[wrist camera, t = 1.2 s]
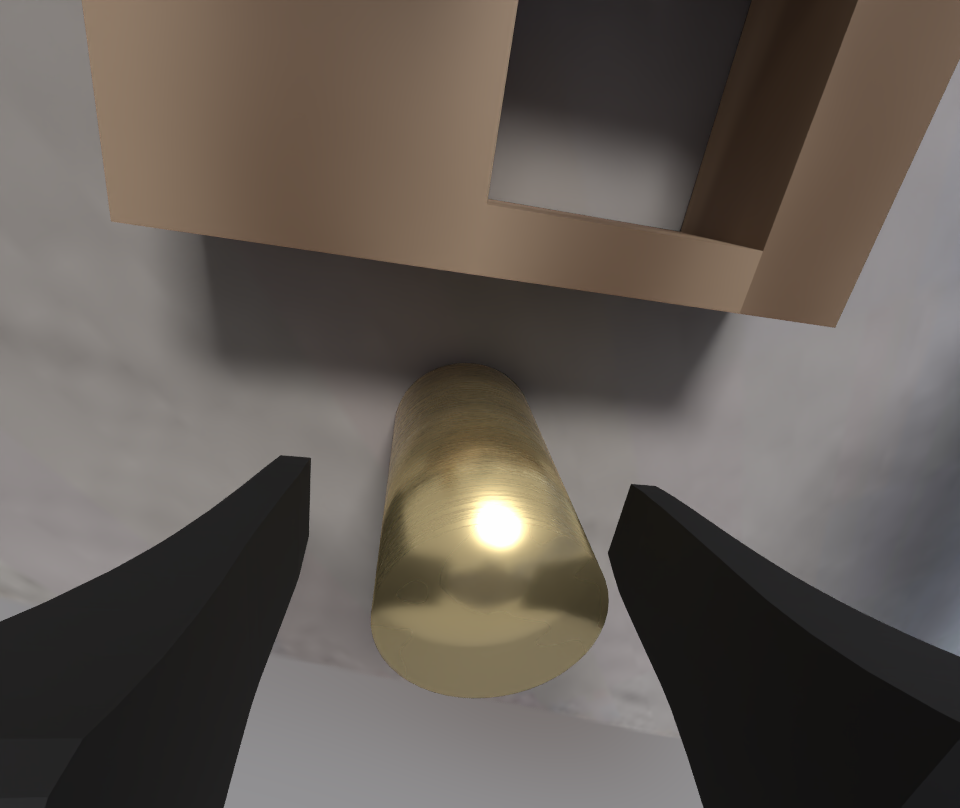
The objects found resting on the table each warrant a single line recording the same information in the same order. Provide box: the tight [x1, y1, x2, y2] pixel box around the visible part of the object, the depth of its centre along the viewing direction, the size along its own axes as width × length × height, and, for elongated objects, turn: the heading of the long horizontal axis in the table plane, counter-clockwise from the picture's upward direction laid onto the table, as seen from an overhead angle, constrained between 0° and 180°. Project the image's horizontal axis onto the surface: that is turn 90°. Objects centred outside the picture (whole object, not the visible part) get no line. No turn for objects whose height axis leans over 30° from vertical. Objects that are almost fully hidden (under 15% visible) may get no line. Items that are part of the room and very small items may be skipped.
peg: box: [371, 363, 609, 698], centre depth 12 cm, size 4×4×7 cm
